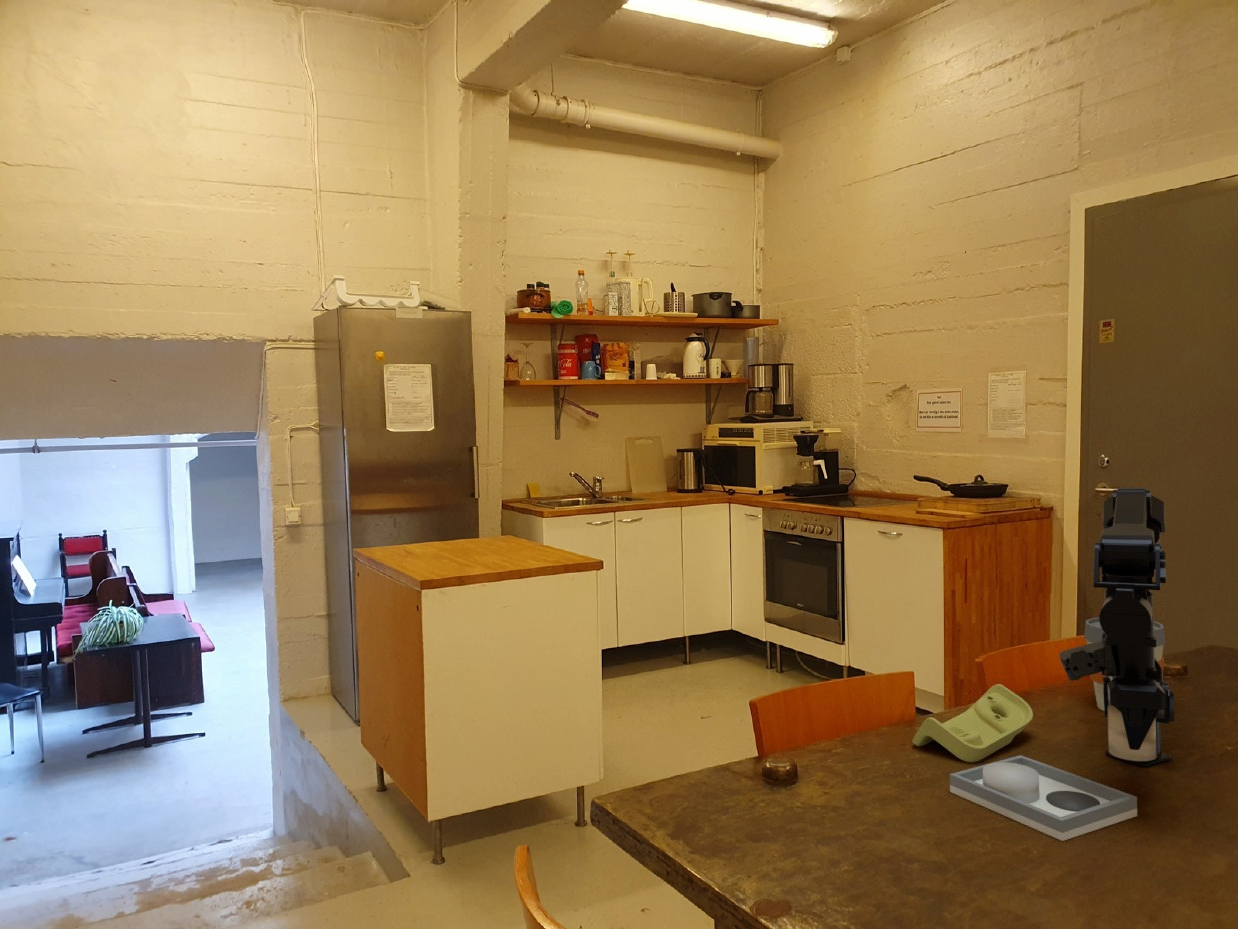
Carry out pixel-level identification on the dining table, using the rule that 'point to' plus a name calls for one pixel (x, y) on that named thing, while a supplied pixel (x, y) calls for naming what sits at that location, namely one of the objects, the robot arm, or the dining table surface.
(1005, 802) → the carrier plate
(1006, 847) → the dining table surface
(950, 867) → the dining table surface
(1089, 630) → the reusable coffee cup
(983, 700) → the plastic component
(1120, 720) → the tan paper roll
